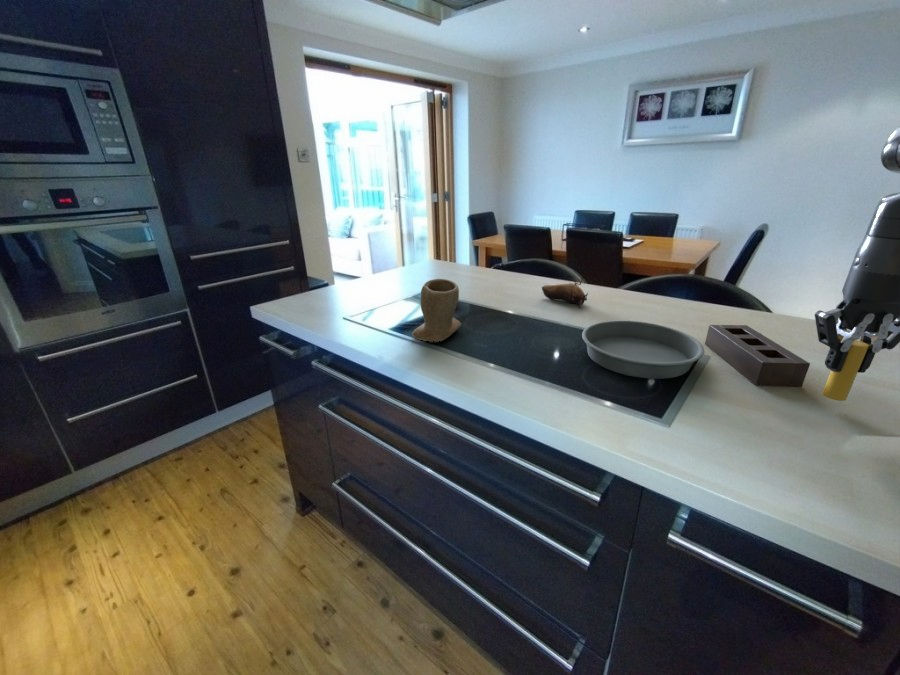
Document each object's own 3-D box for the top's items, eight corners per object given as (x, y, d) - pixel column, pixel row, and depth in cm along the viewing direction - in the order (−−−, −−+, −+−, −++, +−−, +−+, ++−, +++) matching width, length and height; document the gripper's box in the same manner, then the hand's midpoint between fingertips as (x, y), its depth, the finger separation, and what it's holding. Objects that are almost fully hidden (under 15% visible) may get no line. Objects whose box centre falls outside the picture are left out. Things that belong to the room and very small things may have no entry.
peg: (836, 392, 68) (858, 339, 64) (850, 401, 65) (874, 346, 61) (817, 391, 68) (838, 339, 64) (831, 400, 65) (853, 346, 62)
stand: (741, 344, 93) (746, 325, 91) (802, 386, 74) (810, 363, 72) (704, 344, 94) (709, 324, 92) (755, 385, 75) (762, 362, 73)
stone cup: (446, 349, 95) (444, 290, 90) (406, 341, 101) (401, 285, 95) (472, 328, 108) (472, 275, 102) (435, 322, 113) (433, 271, 107)
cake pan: (656, 396, 73) (660, 375, 71) (557, 351, 92) (559, 334, 90) (723, 362, 84) (728, 343, 83) (623, 329, 104) (625, 313, 102)
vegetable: (530, 294, 126) (539, 265, 125) (541, 302, 135) (550, 275, 135) (578, 305, 117) (588, 274, 117) (586, 313, 126) (595, 283, 126)
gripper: (855, 273, 55) (815, 379, 62) (968, 273, 54) (914, 382, 60) (816, 262, 62) (783, 359, 69) (914, 262, 61) (871, 361, 67)
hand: (844, 369), depth 65 cm, fingers closed on peg, 3 cm apart
